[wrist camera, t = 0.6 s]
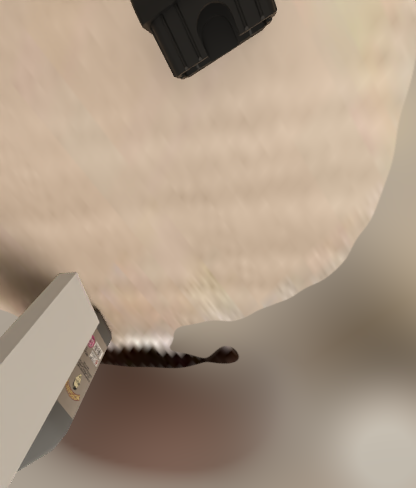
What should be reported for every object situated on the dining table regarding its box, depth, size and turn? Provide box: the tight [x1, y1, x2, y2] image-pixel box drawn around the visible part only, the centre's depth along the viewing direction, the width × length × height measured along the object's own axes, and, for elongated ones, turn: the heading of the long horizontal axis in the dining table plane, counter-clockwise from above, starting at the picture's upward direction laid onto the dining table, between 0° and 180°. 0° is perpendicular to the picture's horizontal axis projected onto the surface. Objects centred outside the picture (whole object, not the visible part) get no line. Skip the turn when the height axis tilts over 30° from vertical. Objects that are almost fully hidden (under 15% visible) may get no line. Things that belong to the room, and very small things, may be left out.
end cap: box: [131, 0, 277, 79], centre depth 22 cm, size 10×7×7 cm
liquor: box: [17, 310, 112, 471], centre depth 34 cm, size 9×9×30 cm
